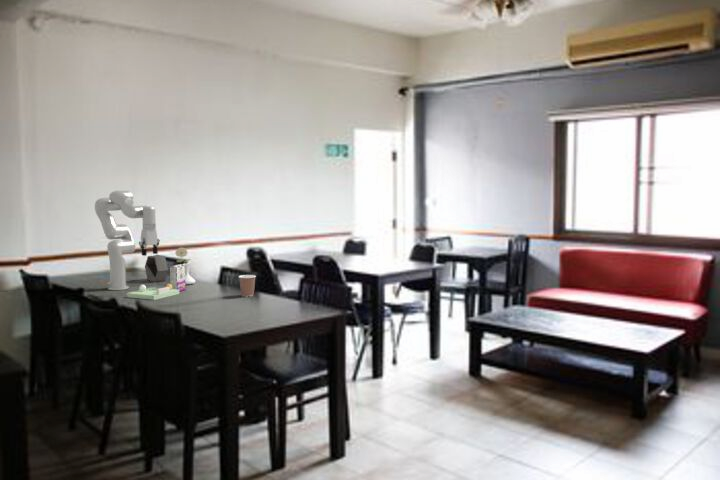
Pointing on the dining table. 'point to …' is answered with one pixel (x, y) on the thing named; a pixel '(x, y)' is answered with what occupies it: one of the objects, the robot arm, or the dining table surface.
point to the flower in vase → (182, 253)
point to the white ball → (142, 287)
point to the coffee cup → (247, 285)
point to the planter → (156, 268)
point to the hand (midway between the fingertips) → (149, 254)
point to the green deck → (153, 293)
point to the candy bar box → (178, 277)
